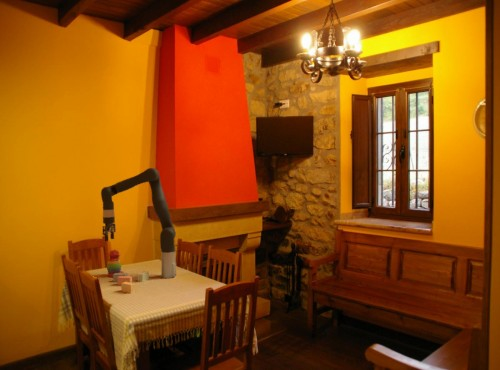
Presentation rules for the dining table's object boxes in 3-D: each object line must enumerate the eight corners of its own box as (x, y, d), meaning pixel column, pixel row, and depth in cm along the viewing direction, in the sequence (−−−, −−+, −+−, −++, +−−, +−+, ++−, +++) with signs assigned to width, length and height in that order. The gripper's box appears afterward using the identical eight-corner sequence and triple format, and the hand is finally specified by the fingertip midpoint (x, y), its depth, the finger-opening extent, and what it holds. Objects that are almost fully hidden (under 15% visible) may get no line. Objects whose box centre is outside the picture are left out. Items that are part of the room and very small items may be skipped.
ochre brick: (135, 291, 241) (135, 283, 240) (130, 293, 237) (130, 285, 237) (125, 289, 244) (125, 281, 244) (121, 291, 241) (121, 283, 241)
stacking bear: (119, 277, 272) (118, 251, 272) (104, 277, 273) (104, 251, 272) (124, 273, 283) (124, 248, 283) (110, 273, 284) (109, 248, 283)
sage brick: (144, 278, 270) (143, 271, 270) (148, 278, 269) (148, 271, 269) (137, 281, 262) (137, 274, 262) (142, 282, 261) (142, 274, 261)
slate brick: (127, 280, 265) (127, 273, 264) (125, 282, 261) (125, 274, 261) (115, 280, 265) (115, 273, 265) (113, 282, 262) (113, 274, 262)
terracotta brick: (132, 284, 257) (132, 276, 257) (129, 285, 253) (129, 277, 253) (120, 283, 258) (119, 276, 258) (117, 285, 254) (117, 277, 254)
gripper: (109, 217, 264) (110, 241, 265) (118, 214, 279) (119, 238, 279) (98, 217, 265) (99, 241, 266) (108, 215, 279) (109, 238, 280)
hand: (109, 240), depth 272 cm, fingers open, 8 cm apart
